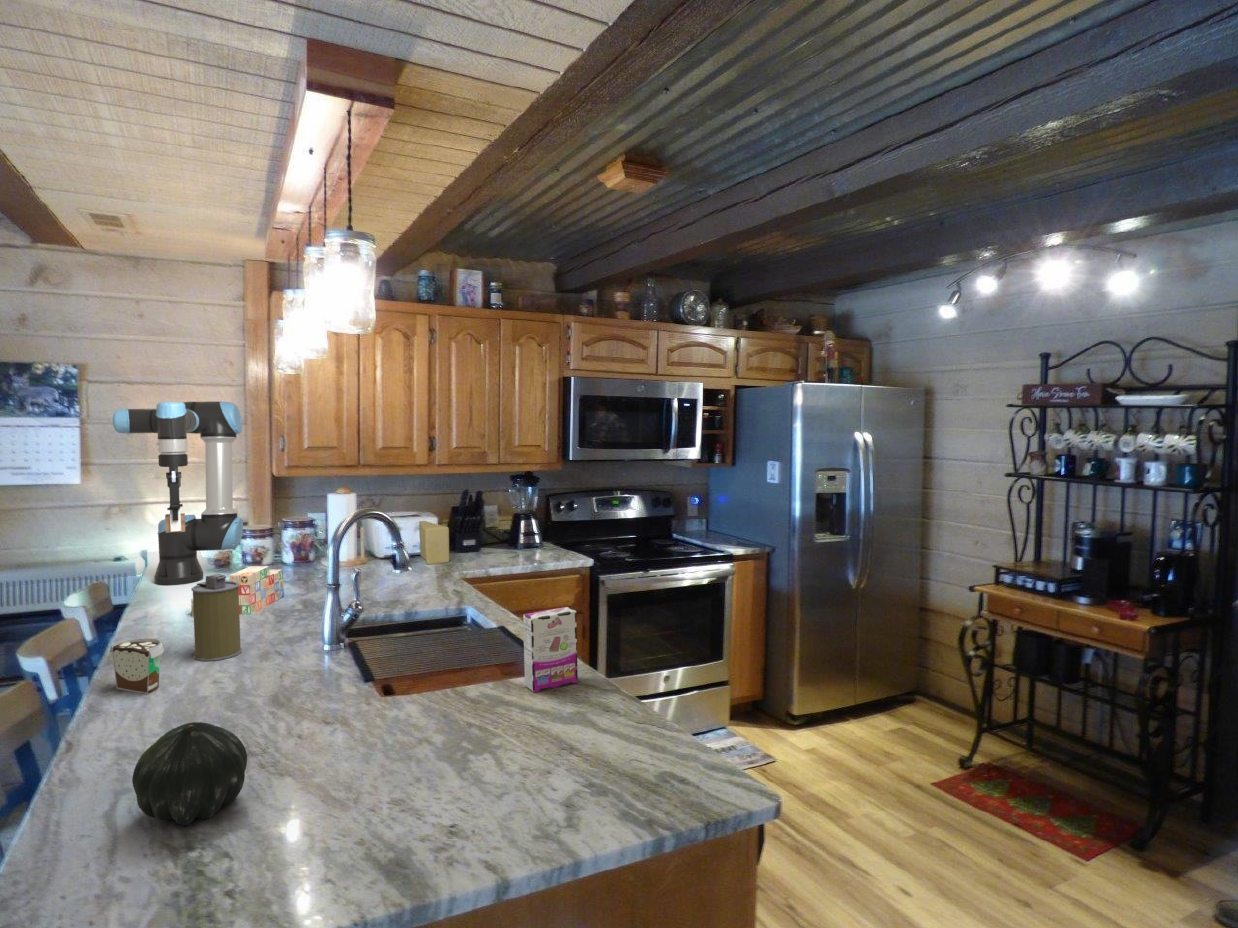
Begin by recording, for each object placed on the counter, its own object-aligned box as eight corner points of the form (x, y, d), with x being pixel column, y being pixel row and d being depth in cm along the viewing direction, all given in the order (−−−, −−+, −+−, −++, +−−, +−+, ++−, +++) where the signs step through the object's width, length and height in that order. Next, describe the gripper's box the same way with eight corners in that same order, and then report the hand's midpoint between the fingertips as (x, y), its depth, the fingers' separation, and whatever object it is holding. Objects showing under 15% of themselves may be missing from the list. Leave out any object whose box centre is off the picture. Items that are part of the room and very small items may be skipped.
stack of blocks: (265, 597, 240) (264, 560, 239) (284, 597, 240) (283, 560, 239) (230, 614, 218) (228, 574, 218) (251, 614, 218) (249, 574, 218)
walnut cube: (166, 530, 222) (165, 514, 222) (185, 529, 225) (184, 513, 224) (165, 532, 218) (165, 516, 217) (185, 531, 220) (184, 515, 220)
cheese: (410, 556, 309) (409, 521, 308) (433, 553, 314) (432, 519, 313) (426, 565, 290) (425, 527, 289) (450, 562, 295) (449, 525, 294)
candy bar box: (567, 676, 167) (567, 605, 166) (578, 683, 162) (578, 610, 161) (522, 686, 161) (522, 612, 160) (532, 693, 157) (532, 618, 155)
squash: (191, 743, 121) (146, 701, 110) (277, 750, 119) (240, 708, 109) (144, 834, 111) (89, 798, 100) (237, 844, 109) (192, 807, 99)
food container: (178, 684, 162) (176, 640, 161) (153, 694, 156) (151, 649, 155) (138, 678, 166) (136, 635, 165) (111, 687, 160) (109, 643, 159)
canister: (251, 651, 185) (248, 573, 183) (213, 663, 175) (209, 581, 174) (222, 645, 189) (219, 569, 188) (183, 657, 180) (180, 577, 178)
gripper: (159, 452, 226) (162, 527, 227) (157, 455, 210) (160, 534, 212) (187, 451, 229) (190, 525, 231) (187, 454, 214) (190, 532, 215)
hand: (176, 529), depth 221 cm, fingers closed on walnut cube, 5 cm apart
